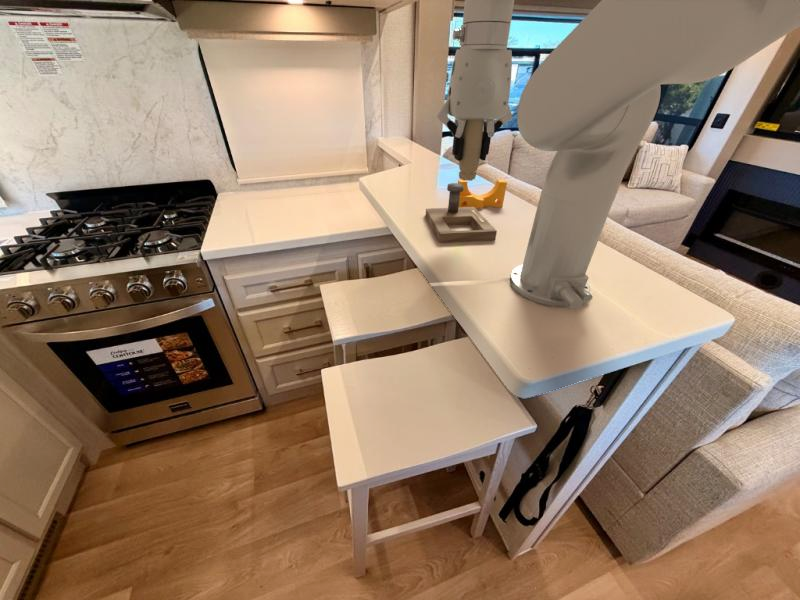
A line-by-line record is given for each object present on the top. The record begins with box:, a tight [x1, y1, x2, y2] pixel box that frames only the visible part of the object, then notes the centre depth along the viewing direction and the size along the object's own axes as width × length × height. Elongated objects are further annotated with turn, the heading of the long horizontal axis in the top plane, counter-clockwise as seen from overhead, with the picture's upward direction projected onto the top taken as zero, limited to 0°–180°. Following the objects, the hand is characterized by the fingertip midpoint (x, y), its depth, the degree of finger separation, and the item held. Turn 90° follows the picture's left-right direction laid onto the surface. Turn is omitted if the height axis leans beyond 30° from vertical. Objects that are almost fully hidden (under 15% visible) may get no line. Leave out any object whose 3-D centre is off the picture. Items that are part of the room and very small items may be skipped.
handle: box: [458, 119, 484, 182], centre depth 62 cm, size 5×6×15 cm
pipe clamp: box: [457, 178, 508, 210], centre depth 85 cm, size 12×4×6 cm, turn 90°
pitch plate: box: [425, 182, 498, 244], centre depth 72 cm, size 15×12×8 cm
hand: (469, 158), depth 64 cm, fingers closed on handle, 4 cm apart
